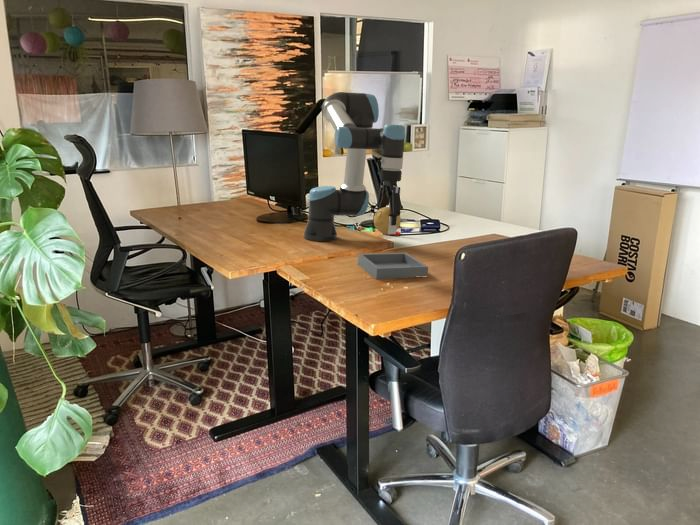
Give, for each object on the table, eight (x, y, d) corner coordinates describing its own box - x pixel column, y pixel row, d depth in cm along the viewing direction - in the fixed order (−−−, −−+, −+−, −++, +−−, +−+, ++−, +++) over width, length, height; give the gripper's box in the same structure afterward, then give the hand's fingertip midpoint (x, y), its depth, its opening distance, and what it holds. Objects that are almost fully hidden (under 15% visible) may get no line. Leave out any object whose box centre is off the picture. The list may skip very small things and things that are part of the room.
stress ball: (402, 237, 202) (394, 215, 207) (405, 220, 194) (398, 199, 199) (375, 241, 200) (369, 219, 206) (378, 224, 192) (371, 203, 197)
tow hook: (384, 232, 274) (382, 235, 266) (386, 206, 272) (384, 208, 263) (400, 233, 273) (399, 236, 264) (403, 207, 271) (402, 210, 262)
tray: (357, 263, 213) (358, 254, 212) (405, 262, 219) (405, 252, 218) (376, 279, 195) (376, 268, 194) (427, 277, 201) (428, 266, 200)
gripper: (370, 165, 204) (366, 224, 210) (393, 173, 183) (387, 237, 189) (389, 165, 206) (385, 224, 212) (413, 173, 186) (407, 237, 192)
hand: (386, 230), depth 201 cm, fingers closed on stress ball, 10 cm apart
